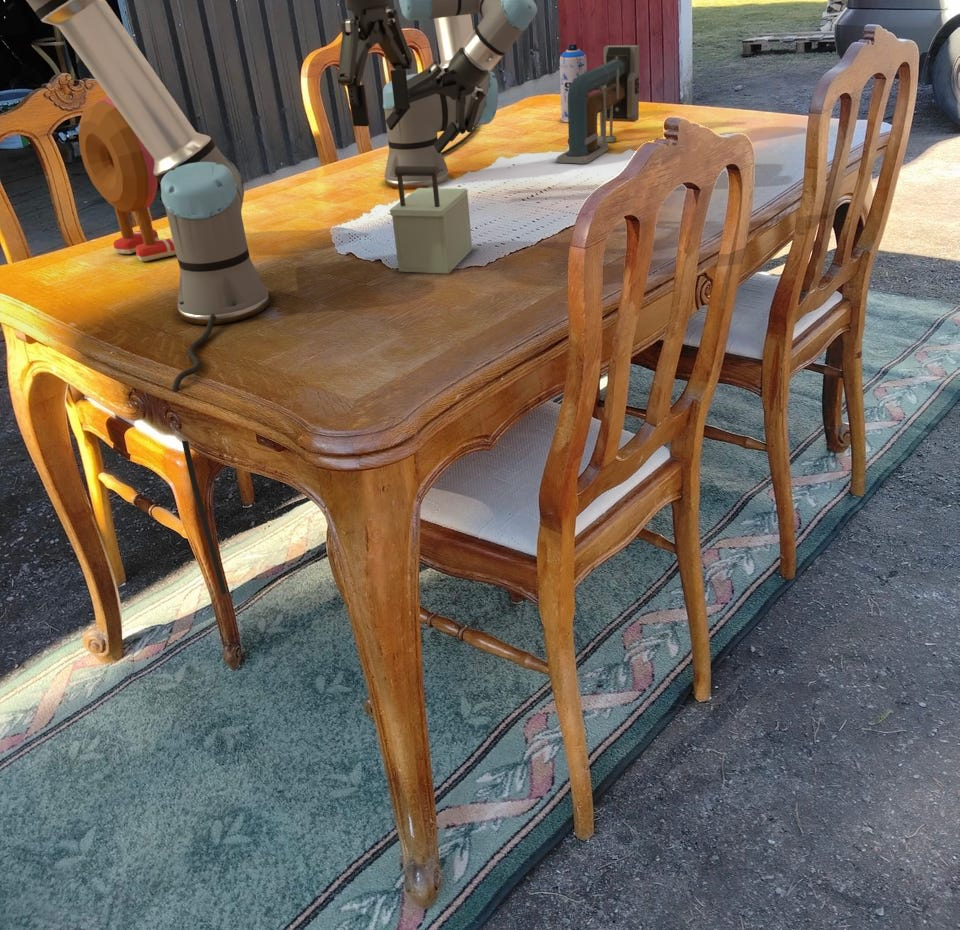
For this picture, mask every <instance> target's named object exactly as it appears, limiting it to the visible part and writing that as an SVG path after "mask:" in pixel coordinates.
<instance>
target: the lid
mask: <svg viewBox="0 0 960 930" xmlns="http://www.w3.org/2000/svg"><path fill="white" fill-rule="evenodd" d="M395 175H396V176H397V179H398V187H399V188H398V195H399V202H398V203H396V204H395V205H394V206H392V207H391V208H390V209H389V212H390V216H391V217H392V216H435V217H442V216H443V215H444V214H446V213H447V212H448V211H449V210H450V209H451V208H453V207H454V206H455V205H456V204H457V203H458V202H459V201H461V200H462V199H463V198H464V197H465V196H466V195H468V188H452V187H451V188H449V187H448V188H445V187H444V188H443V187H439V184H438V182H437V175H438V167H437V166H396V167H395ZM402 176H432V183H433V186H432V187H424V188H415V190H413V191H412V192H411V193H410V194H408V195H407V196H405V189H404V187H403V179H402ZM468 196H469V195H468Z"/></svg>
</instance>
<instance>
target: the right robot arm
mask: <svg viewBox="0 0 960 930" xmlns="http://www.w3.org/2000/svg"><path fill="white" fill-rule="evenodd" d="M398 2H399V8H400V10H401V14H402V16H403V18H404V19H405V20H406V21H422V22H425V21H428V20H433V22H434V30H435V35H436V39H437V46H438V53H439V59H440V64H439V62H438V61H437V60H435V61H433V62H431V64H430V65H429V66H428V67H427V68H425V69H424V70H422V71H420V72H419V73H412V74H406V76H407V87H408V96H409V106H410V109H395V106H394V98H393V89H392V80H389V82H387V83H386V84H385V85H384V87H383V89H382V108H383V111H384V119H385V127H386V135H387V136H386V137H387V142H388V155H387V160H386V166H385V169H384V170H385V171H384V183H385V185H387V187H390V188H393V189H394V188H395V189H399V187H398V179H397V176H396V175H395V167H396V166H437V167H438V175H437V182H438V185H440V184H443V183H445V182H446V181H448V180H449V178H450V176H449V175H450V174H449V169H448V166H447V163H446V160H445V159H444V155H445V154H448V153H449V152H451V151H452V150H454V149H455V148H457V147H458V146H461V144H463V143H464V142H465V141H466V140H468V139H469V138H470V137H471V136H472V135H473V134H474V133H475V132H476V130H477V128H478V127H479V126H485V125H488V124H490V123H491V122H492V121H493V120H494V119H495V117H496V115H497V110H498V106H499V105H498V104H499V85H498V80H497V78H496V74H495V73H494V72H493V71H492V70H493V69H494V68H495V66H496V65H497V64H498V63H499V62H500V60H501V59H502V58H503V57H504V55H505V54H506V53H507V52H508V51H509V50H510V49H511V47H512V46H513V45H514V43H515V42H516V41H518V39H519V37H520V36H522V34H523V32H525V31H526V30H527V29H528V27H529V25H530V23H531V22H532V21H533V20H534V18H535V17H536V15H537V14H538V6H537V4H536V2H535V1H534V0H399V1H398ZM474 14H476V15H477V14H480V16H481V17H482V20H481V21H480V22H479V24H478V25H476V27H475V29H474V27H473V20H472V15H474ZM440 132H442V133H441V134H440V136H439V137H438V133H440ZM466 132H467V133H468V134H467V135H465V137H463V138H462V139H461V140H459V141H458V142H456V143H454V144H453V145H451V146H450V147H448V148H447V149H445V148H446V147H447V146H448V144H449V143H450V142H454V141H455V140H456V138H457V137H458V136H459V135H460V134H461V135H464V134H465V133H466ZM444 149H445V150H444ZM402 179H403V187H404V190H412V189H418V188H430V187H433V183H432V176H402Z"/></svg>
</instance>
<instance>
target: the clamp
mask: <svg viewBox="0 0 960 930" xmlns="http://www.w3.org/2000/svg"><path fill="white" fill-rule="evenodd" d="M593 91H598V92H594V93H593V94H591V95H589V94H590V93H592V92H593ZM639 91H640V45H637V44H635V45H633V44H632V45H630V44H629V45H621V44H620V45H606V46H604V47H603V64H601V65H599V66H597V67H595V68H592V69H590V70H587V72H586V73H584V74H581V75H579V76H578V77H577V78H576V79H575V80H574V81H573V82H572V84H571V85H570V88H569V91H568V122H567V125H568V128H567V129H568V139H567V144H568V150H566V151H565V152H563V153H562V154H560V155H558V156H557V157H556V159H555V162H557V163H562V164H563V163H564V164H588V163H590V162H592V161H593V160H595V159H596V158H599V157H600V156H601V155H603V154H604V153H606V152H608V151H610V150H611V147H610V146H609V143H613V142H616V141H617V137H616V136H615V135H613V131H614V130H613V127H614V126H613V125H614V124H613V122H617V123H619V122H622V123H635V122H637V121H638V120H640V119H639V118H640V116H639V113H640V109H639V107H640V104H639V103H640V102H639V101H640V92H639ZM598 114H599V121H600V122H599V125H600V126H599V128H600V129H599V130H600V131H599V132H600V135H599V133H598ZM607 122H609V135H607Z"/></svg>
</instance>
